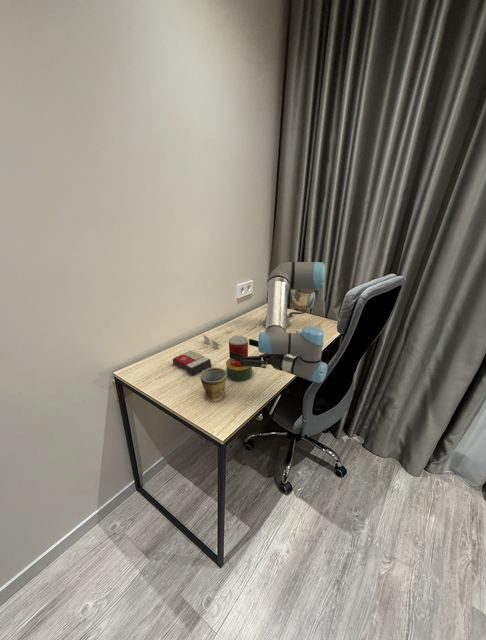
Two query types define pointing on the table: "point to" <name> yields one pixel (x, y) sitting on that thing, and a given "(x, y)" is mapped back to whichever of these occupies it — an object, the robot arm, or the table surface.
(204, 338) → the eyeglasses
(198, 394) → the table surface
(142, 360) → the table surface
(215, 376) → the ceramic cup
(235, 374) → the tin
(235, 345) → the canned food
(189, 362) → the calculator
